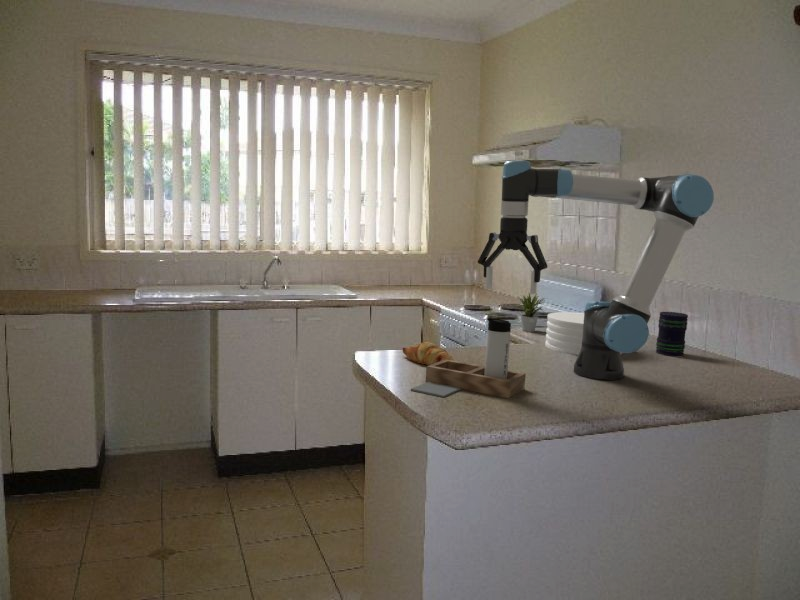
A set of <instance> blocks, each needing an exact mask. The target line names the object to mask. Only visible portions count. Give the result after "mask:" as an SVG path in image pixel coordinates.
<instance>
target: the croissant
mask: <svg viewBox="0 0 800 600" xmlns="http://www.w3.org/2000/svg"><path fill="white" fill-rule="evenodd" d="M402 353H403V354H404V355H405V356H406V358H407V359H408V360H409V361H412V362H414V363H416V362H417V364H420V363H421V365H424V364H426V365H425V366H429V365H432V364H434V363H437V362H440V361H443V360H446V359H447V360H452V361H455V359H454V357H453V356H452V355H450V354H449V353H448V352H447V350H446V349H444V348H441V347H440V348H439V346H438V345H436V344H435V343H432V342H430V341H427V340H425V341H422V342H420V343H418V344H415V345H413V346H409V345H408V346H407V347H402Z"/></svg>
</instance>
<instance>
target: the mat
mask: <svg viewBox="0 0 800 600" xmlns="http://www.w3.org/2000/svg"><path fill="white" fill-rule="evenodd" d="M461 390H462V389H461V388H458V387H453V386H448V385H443V384H438V383H433V382H425V383H421V384H420V385H416V386H414V387H412V388H410V391H411V392H416V393H421V394H425V395H430V396H435V397H440V398H446V397H448V396H451V395H453V394H454V393H457V392H459V391H461Z"/></svg>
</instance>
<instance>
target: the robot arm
mask: <svg viewBox="0 0 800 600" xmlns="http://www.w3.org/2000/svg"><path fill="white" fill-rule="evenodd" d="M503 163H504V164H503V168H502V176H501V179H502V180H501V182H502V183H501V188H502V189H501V201H500V202H501V203H500V204H501V205H500V206H501V207H500V215H501V216H502V217H501V218H500V225H499V229H500V231H499V233H497V232H490V233H489V235H488V241H487V243H486V244H485V246H484V249H483V251H482V252H481V254H480V256H479V258H478V260H477V263H478V265H482V266H483V278H485V290H487V291H488V290H492V288H493V275H494V274H493V270H494V266H493V265H492V264H493V263H494V262H495V260H496V259H497V258H498V257H499V256H500V255H501V253H503V251H505V250H506V251H507V250H508V251H509V250H512V251H520V252H521V254H522V255H523V256H524V257H525V259H526V260H527V262H528V263H529V265H530V266H531V267H532V269H533V270H531V274H530V287H529V288H530V291H529V293H530V295H535V294H536V293H537V287H538V286H537V284H538V283H540V282H541V272H542V270H545V269H547V268H549V267H548V263H547V261H546V259H545V257H544V254H543V251H542V248H541V247H540V245H539V238H538V237H539V236H538V234H533V235H528V233H527V232H528V221H529V220H528V218H527V216H528V215H529V199H530V197H535V198H538V197H541V198H553V199H561V200H562V199H565V200H573V201H574V200H575V201H585V202H594V203H595V202H596V203H607V204H617V205H627V206H632V207H634V209H635V210H640V211H641V210H643V211H649V212H652V213H653V215H654V218H655V221H654V224H653V226H652V228H651V229H650V232H649V234H648V237H646V241H645V243H644V245H643V247H642V249H641V251H640V254H639V256H638V258H637V259H636V262H635V264H634V267H633V268H632V271H631V272H630V275H629V277H628V279H627V281H626V283H625V285H624V287H623V289H622V291H621V294H620V295H619V296H615V297H613V298H612V300H611V301H595V300H594V301H592V300H591V301H590V300H589V301H587V302H586V304H585V306H584V307H585V308H584V311H583V313H584V324H583V336H582V347H581V350H580V352H579V355H577V357H576V359H575V361H574V364H573V372H574V374H576V375H578V376H581V377H585V378H590V379H594V380H596V379H597V380H604V379H605V380H606V381H611V380H621V379H623V378H624V375H625V368H624V364H623V360H622V359H623V358H622V354H630V353H634V352H637V351H639V350H640V349H641V348H642V347H644V345H645V344H646V343H647V341H648V338H649V335H650V329H649V326H648V323H649V322H650V319H651V317H652V313H651V311H650V306H651V304H652V302H653V300H654V298H655V296H656V293H657V291H658V289H659V288H660V285H661V283H662V281H663V279H664V277H665V275H666V273H667V271H668V268H669V267H670V264H671V263H672V260H673V258H674V256H675V254H676V251H677V250H678V247H679V245H680V243H681V241H682V240H683V238H684V235H685V233H686V232H688V231H689V230H692V229H693V228H694V227H695V225H696V224H697V221H698V219H699V217H701V216H704V215H705V214H706V213H708V211H710V209H711V208H712V206H713V202H714V200H715V199H714V198H715V197H714V190H713V187H712V185H711V183H710V182H709V180H707V179H706V178H705V177H704V176H702V175H698V174H693V173H692V174H691V173H685V174H680V175H666V176H659V177H645V176H644V177H643V176H642V177H638V178H637V179H630V178H629V179H626V178H617V177H606V176H599V175H598V176H597V175H596V176H595V175H587V174H575V173H573V172H572V171H571V170H570V169H566V168H565V169H564V168H532V167H531V162H530V161H529V160H506V161H505V162H503ZM498 240H499V241H500V243H499V245H498V246H497V247H496V249H495V250H494V251H493V252H492V253H491V251H492V249H493V247H494V245H495V243H496V241H498ZM527 241H528V242H529V243H530V246H531V248H532V250H533V253H534V255H535V257H534V255H533V254H532V252H531V251H530V249H529V247H528V246H527V244H526V243H527ZM490 253H491V254H490ZM489 255H490V256H489ZM491 265H492V266H491ZM620 352H621V353H622V354H620Z"/></svg>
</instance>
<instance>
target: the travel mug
mask: <svg viewBox="0 0 800 600" xmlns="http://www.w3.org/2000/svg"><path fill="white" fill-rule="evenodd" d="M486 320H487V322H488V323H487V333H486V345H485V346H486V347H485V359H484V361H485V362H484V366H485V373H484V376H489V377H494V378H500V379H505V380H507V371H509V369H508V368H509V358H510V357H509V356H510V355H509V354H510V344H511V343H510V342H511V328H512V327H511V326H512V323H511V322H510V321H508V320H505V319H503V318H502V319H501V318H498V317H497V318H495V317H491V316H489V317H486Z"/></svg>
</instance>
